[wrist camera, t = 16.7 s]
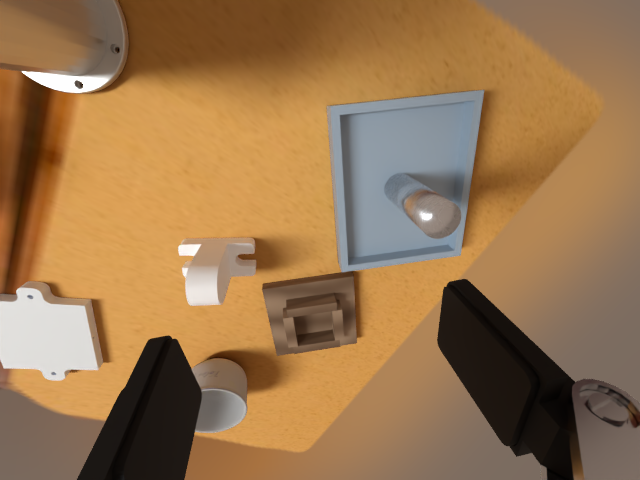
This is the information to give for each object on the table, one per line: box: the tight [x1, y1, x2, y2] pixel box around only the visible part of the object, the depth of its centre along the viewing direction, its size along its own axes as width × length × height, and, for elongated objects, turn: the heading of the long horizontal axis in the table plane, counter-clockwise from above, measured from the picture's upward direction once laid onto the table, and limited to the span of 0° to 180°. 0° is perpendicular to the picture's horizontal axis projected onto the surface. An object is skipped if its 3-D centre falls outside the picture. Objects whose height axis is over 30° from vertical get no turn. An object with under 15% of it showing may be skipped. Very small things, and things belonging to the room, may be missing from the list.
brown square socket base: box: [262, 271, 357, 356], centre depth 46 cm, size 14×14×4 cm
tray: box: [327, 90, 484, 272], centre depth 39 cm, size 22×18×3 cm
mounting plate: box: [0, 281, 103, 380], centre depth 43 cm, size 18×13×2 cm
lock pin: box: [384, 173, 461, 239], centre depth 34 cm, size 4×4×12 cm
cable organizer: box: [178, 238, 256, 306], centre depth 37 cm, size 5×10×10 cm, turn 87°
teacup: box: [192, 358, 247, 433], centre depth 48 cm, size 14×11×8 cm
